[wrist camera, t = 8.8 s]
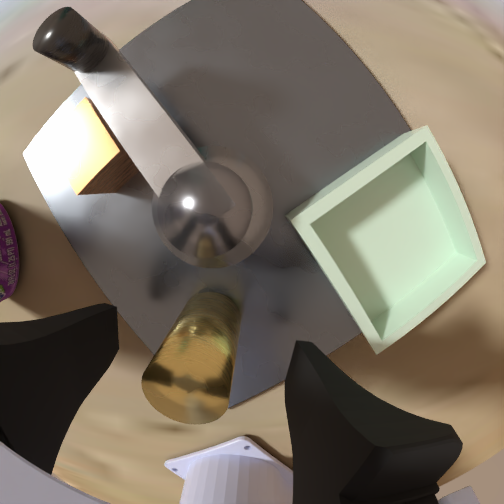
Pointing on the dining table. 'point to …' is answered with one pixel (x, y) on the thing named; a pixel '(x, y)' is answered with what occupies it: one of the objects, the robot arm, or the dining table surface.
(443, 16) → the dining table surface
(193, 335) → the brass pin
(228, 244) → the crank
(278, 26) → the base plate
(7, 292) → the beverage can
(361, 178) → the tray
